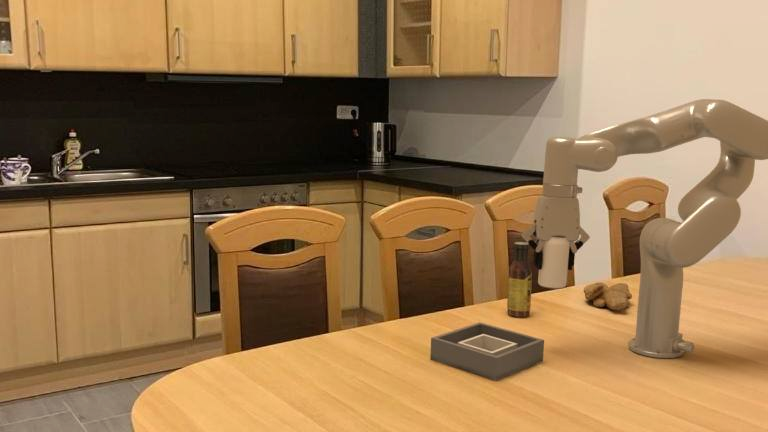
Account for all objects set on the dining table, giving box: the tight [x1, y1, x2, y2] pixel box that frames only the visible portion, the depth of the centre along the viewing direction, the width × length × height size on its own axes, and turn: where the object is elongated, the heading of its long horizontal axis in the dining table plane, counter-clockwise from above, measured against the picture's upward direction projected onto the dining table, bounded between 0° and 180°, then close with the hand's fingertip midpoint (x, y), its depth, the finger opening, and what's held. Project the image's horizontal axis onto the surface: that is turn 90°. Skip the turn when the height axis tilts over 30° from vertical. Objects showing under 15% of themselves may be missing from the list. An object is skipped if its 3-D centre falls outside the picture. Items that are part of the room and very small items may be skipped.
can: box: [537, 236, 570, 290], centre depth 182 cm, size 6×6×12 cm
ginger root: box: [582, 282, 633, 311], centre depth 226 cm, size 16×16×8 cm
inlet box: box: [429, 321, 545, 382], centre depth 177 cm, size 18×18×5 cm
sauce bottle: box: [506, 241, 533, 318], centre depth 212 cm, size 7×6×20 cm
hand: (553, 267), depth 182 cm, fingers closed on can, 6 cm apart
